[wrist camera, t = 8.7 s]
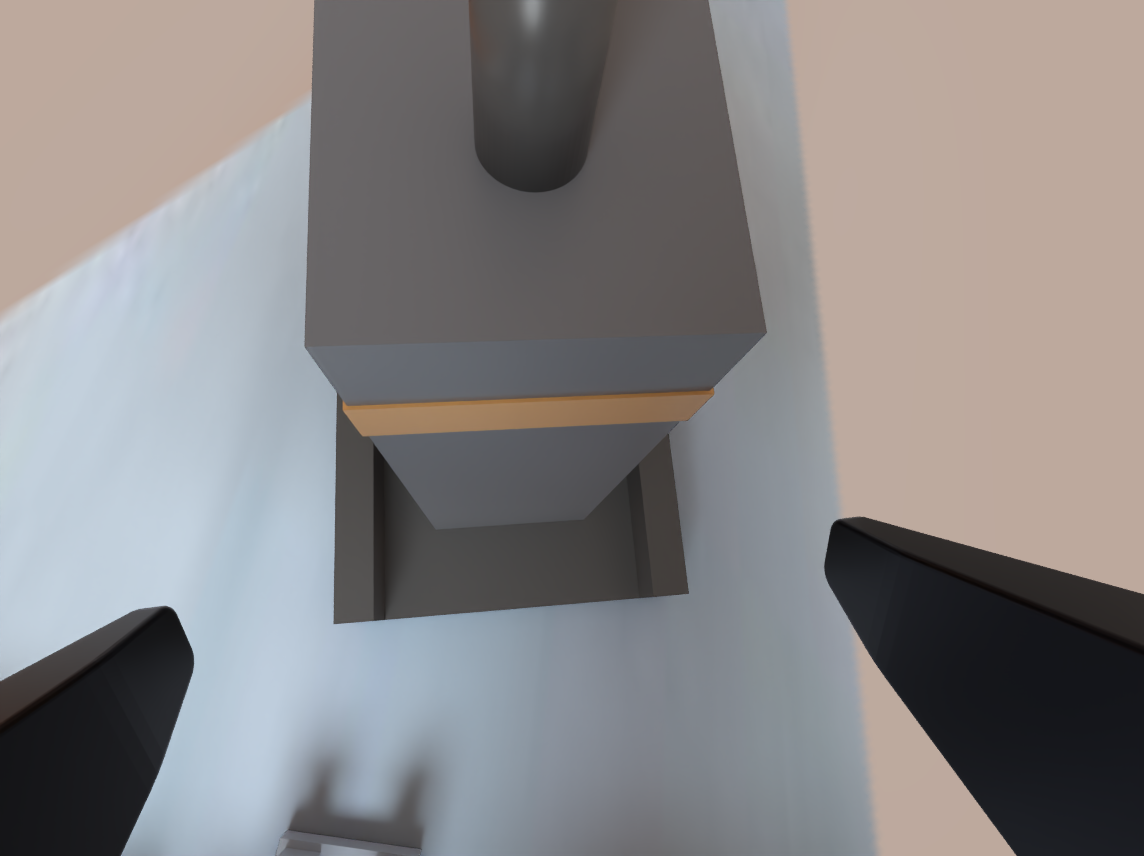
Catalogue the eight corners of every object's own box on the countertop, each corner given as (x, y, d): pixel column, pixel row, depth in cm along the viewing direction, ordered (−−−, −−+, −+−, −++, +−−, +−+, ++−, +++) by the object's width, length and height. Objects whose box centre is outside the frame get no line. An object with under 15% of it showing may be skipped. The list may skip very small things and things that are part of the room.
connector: (585, 521, 20) (921, 190, 4) (434, 531, 19) (176, 189, 4) (572, 381, 21) (799, -278, 5) (430, 386, 21) (224, -338, 5)
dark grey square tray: (667, 595, 20) (688, 593, 18) (352, 622, 19) (333, 624, 17) (634, 316, 23) (649, 285, 20) (354, 324, 21) (338, 291, 19)
